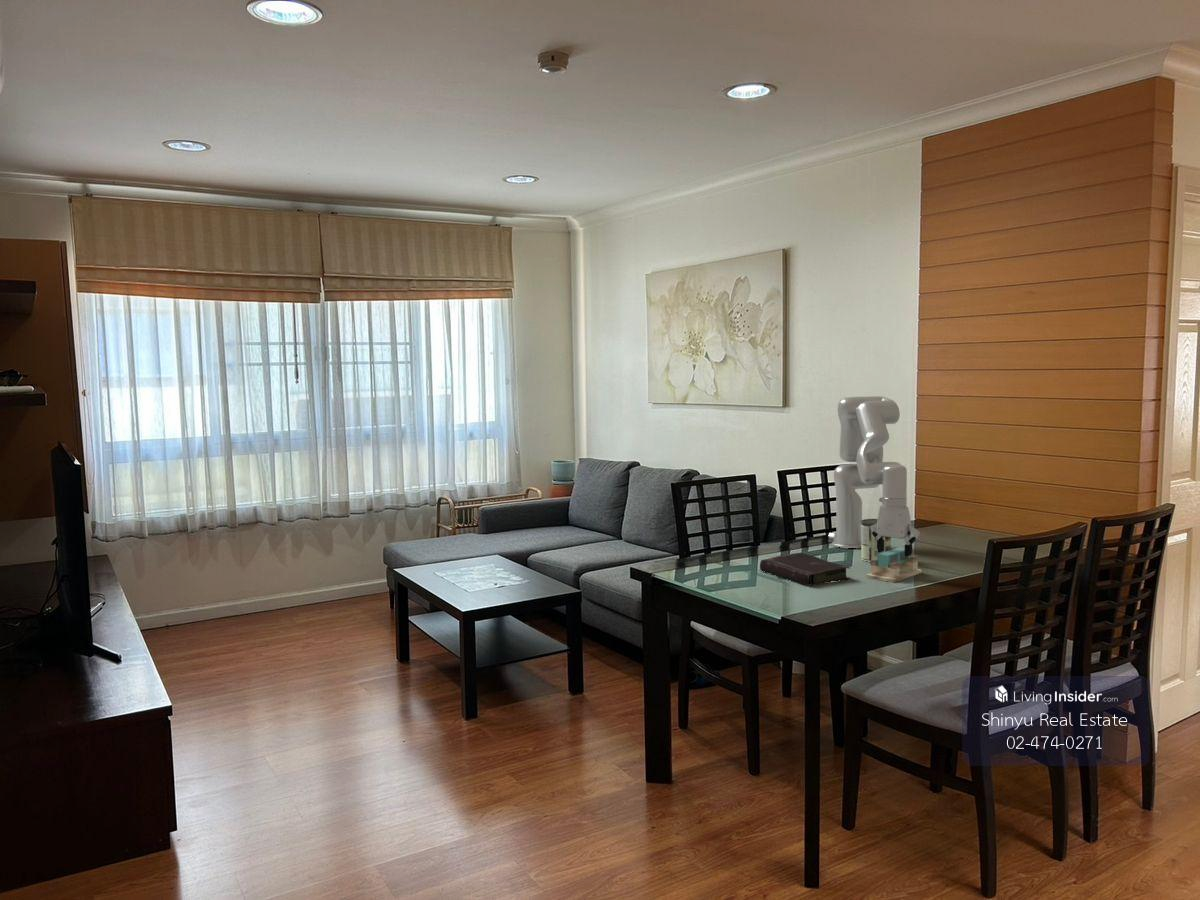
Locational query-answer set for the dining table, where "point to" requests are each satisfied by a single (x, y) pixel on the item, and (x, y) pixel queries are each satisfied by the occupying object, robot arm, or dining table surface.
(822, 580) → the diary
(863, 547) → the coffee can
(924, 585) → the dining table surface
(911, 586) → the dining table surface
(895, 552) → the teal rectangular block
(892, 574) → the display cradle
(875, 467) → the robot arm
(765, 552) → the dining table surface
